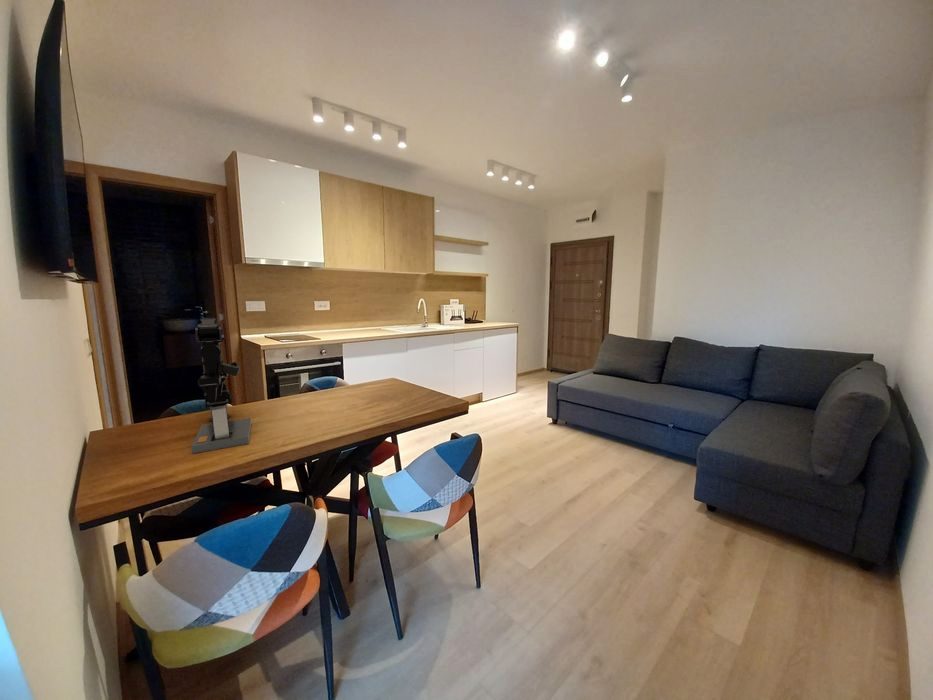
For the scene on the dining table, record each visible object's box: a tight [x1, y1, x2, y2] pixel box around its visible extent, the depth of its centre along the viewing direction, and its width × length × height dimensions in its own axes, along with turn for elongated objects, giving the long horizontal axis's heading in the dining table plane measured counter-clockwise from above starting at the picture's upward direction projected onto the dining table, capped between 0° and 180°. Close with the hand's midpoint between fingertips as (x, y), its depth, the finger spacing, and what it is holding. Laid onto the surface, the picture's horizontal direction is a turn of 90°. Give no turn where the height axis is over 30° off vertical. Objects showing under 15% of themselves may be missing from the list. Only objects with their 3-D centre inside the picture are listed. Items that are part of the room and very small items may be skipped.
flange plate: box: [190, 417, 252, 454], centre depth 131 cm, size 22×16×3 cm
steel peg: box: [212, 405, 229, 440], centre depth 125 cm, size 4×4×13 cm
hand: (216, 399), depth 134 cm, fingers open, 9 cm apart
